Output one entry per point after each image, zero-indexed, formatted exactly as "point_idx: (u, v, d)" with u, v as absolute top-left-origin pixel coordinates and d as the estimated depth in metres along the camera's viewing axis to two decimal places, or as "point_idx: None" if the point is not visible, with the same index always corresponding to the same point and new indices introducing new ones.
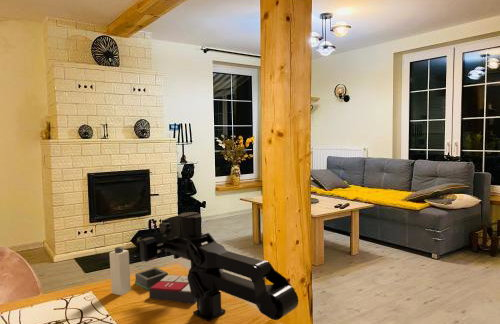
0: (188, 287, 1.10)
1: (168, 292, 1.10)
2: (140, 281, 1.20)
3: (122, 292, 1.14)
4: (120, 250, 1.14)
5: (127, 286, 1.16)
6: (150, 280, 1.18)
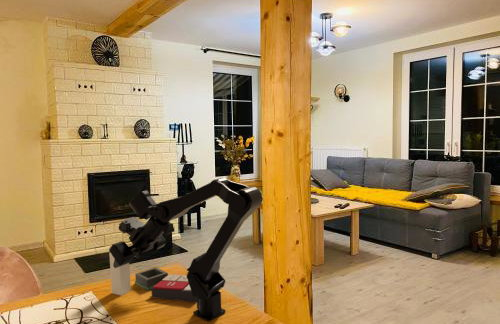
0: None
1: (170, 291, 1.10)
2: (140, 281, 1.20)
3: (122, 292, 1.14)
4: None
5: (127, 286, 1.16)
6: (150, 280, 1.18)
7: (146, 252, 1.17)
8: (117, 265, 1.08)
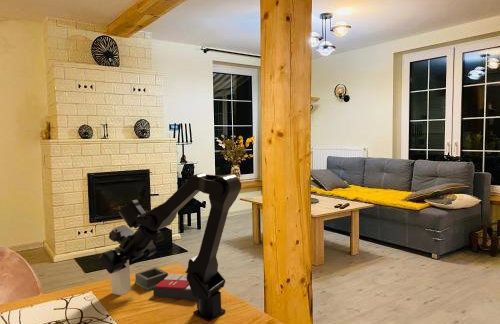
0: None
1: (172, 290, 1.11)
2: (140, 281, 1.20)
3: (122, 292, 1.14)
4: (120, 250, 1.14)
5: (127, 286, 1.16)
6: (150, 280, 1.18)
7: (131, 262, 1.17)
8: None
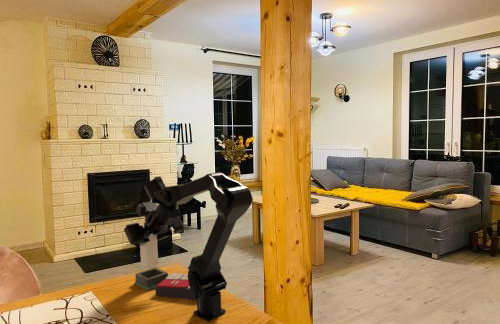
0: None
1: (174, 289, 1.11)
2: (140, 281, 1.20)
3: (149, 265, 1.20)
4: None
5: (154, 260, 1.21)
6: (150, 280, 1.18)
7: (159, 237, 1.21)
8: (141, 243, 1.18)
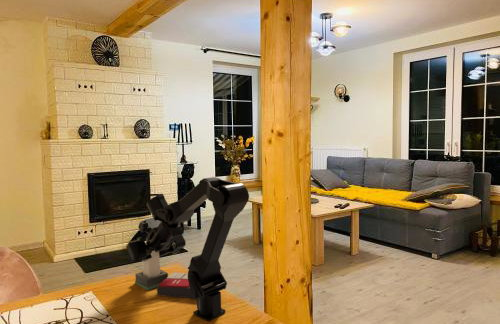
0: None
1: (176, 289, 1.12)
2: (140, 281, 1.20)
3: None
4: None
5: None
6: (150, 280, 1.18)
7: (161, 253, 1.22)
8: None
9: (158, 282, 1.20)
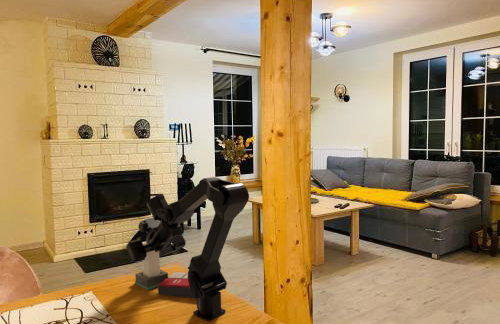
0: None
1: (177, 288, 1.12)
2: (140, 281, 1.20)
3: None
4: None
5: None
6: (150, 280, 1.18)
7: (167, 251, 1.23)
8: None
9: (158, 282, 1.20)
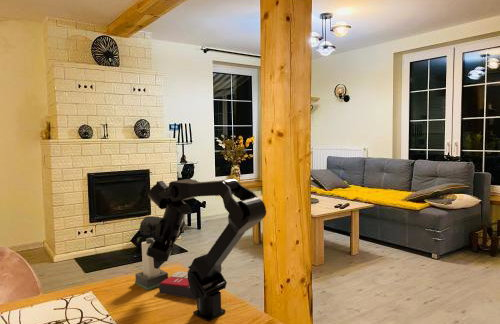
0: None
1: (176, 288, 1.13)
2: (140, 281, 1.20)
3: None
4: (150, 241, 1.20)
5: None
6: (150, 280, 1.18)
7: (173, 240, 1.17)
8: (159, 264, 1.09)
9: (158, 282, 1.20)
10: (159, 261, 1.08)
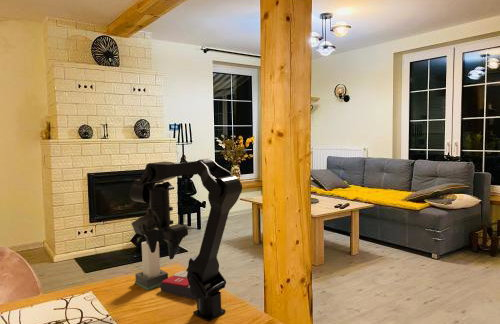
0: None
1: (176, 287, 1.13)
2: (140, 281, 1.20)
3: None
4: None
5: None
6: (150, 280, 1.18)
7: (156, 237, 1.15)
8: (175, 250, 1.08)
9: (158, 282, 1.20)
10: (175, 246, 1.07)
